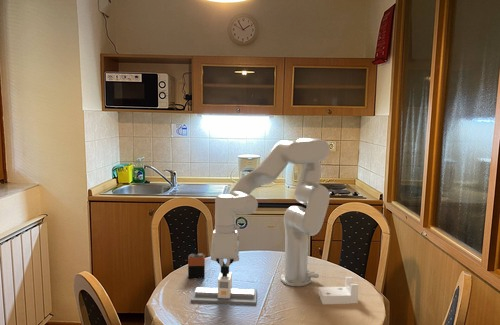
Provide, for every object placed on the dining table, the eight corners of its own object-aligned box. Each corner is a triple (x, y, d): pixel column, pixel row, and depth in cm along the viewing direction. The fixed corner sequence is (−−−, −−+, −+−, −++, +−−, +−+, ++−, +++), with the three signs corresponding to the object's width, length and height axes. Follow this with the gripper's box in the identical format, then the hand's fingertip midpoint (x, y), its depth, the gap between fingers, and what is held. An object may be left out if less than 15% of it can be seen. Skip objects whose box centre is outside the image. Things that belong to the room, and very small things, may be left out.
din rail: (253, 293, 143) (253, 289, 143) (253, 297, 139) (253, 294, 139) (196, 291, 144) (196, 287, 144) (195, 295, 140) (195, 291, 140)
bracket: (351, 295, 145) (352, 276, 144) (357, 304, 138) (358, 285, 137) (318, 295, 145) (318, 277, 144) (322, 305, 138) (323, 285, 137)
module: (231, 289, 145) (232, 271, 144) (229, 299, 137) (229, 280, 136) (220, 289, 145) (220, 271, 144) (217, 298, 138) (217, 280, 137)
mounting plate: (256, 292, 146) (256, 289, 146) (255, 304, 136) (255, 302, 136) (195, 289, 147) (195, 287, 147) (190, 302, 137) (190, 299, 137)
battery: (204, 278, 157) (204, 255, 156) (188, 279, 157) (188, 256, 155) (204, 274, 162) (204, 252, 160) (188, 274, 161) (188, 252, 160)
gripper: (245, 225, 142) (245, 271, 144) (206, 224, 142) (206, 270, 145) (244, 231, 134) (244, 280, 137) (203, 230, 135) (203, 278, 137)
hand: (224, 275), depth 141 cm, fingers closed
